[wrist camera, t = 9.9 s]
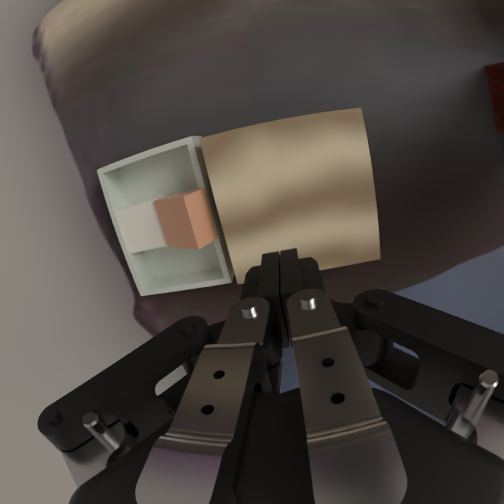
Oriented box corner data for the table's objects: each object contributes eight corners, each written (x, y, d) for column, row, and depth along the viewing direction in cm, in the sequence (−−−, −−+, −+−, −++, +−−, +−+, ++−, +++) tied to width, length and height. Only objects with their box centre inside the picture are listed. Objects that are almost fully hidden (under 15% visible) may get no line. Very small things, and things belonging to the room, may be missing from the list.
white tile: (155, 199, 28) (164, 194, 30) (116, 210, 28) (127, 205, 31) (170, 245, 29) (177, 237, 32) (131, 253, 30) (140, 245, 33)
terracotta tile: (172, 193, 29) (153, 200, 27) (203, 188, 26) (183, 196, 24) (185, 237, 31) (167, 247, 29) (217, 238, 28) (198, 249, 26)
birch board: (211, 138, 28) (198, 138, 23) (347, 111, 26) (361, 107, 21) (243, 262, 33) (237, 284, 28) (366, 240, 31) (380, 258, 26)
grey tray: (113, 165, 30) (96, 169, 26) (201, 135, 28) (191, 136, 25) (151, 281, 35) (140, 296, 32) (235, 268, 33) (231, 282, 30)
